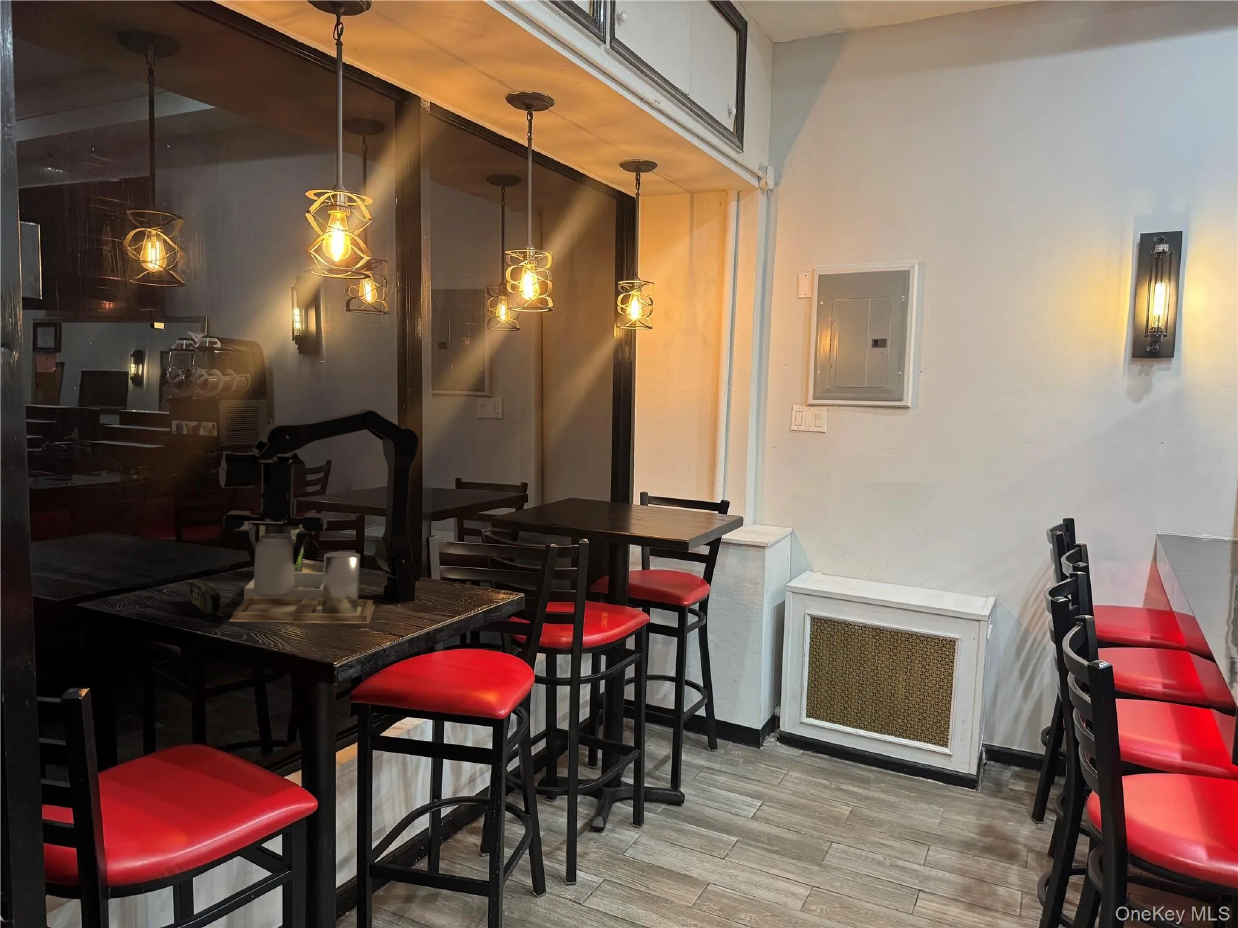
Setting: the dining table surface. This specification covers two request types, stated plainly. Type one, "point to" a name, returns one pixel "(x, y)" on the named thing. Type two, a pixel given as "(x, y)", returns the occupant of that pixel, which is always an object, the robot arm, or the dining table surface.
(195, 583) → the mobile phone
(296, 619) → the wooden divided tray
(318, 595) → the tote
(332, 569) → the steel billet
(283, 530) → the coffee can
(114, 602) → the dining table surface
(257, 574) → the can
